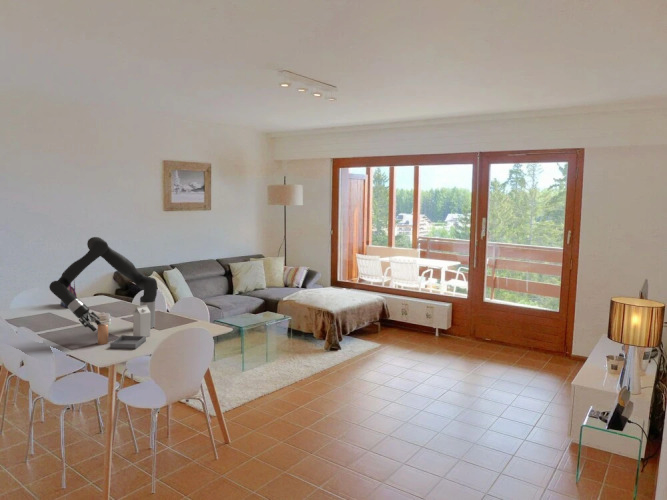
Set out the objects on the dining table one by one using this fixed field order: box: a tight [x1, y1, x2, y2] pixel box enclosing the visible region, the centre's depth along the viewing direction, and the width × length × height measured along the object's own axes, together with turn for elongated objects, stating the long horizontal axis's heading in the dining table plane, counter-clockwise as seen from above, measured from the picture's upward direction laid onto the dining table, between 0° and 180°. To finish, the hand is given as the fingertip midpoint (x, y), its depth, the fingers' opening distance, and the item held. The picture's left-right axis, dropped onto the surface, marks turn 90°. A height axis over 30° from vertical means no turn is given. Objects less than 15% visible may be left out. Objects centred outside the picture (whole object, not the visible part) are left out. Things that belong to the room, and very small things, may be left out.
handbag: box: [60, 281, 79, 309], centre depth 367 cm, size 21×10×25 cm, turn 49°
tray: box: [109, 334, 147, 350], centre depth 281 cm, size 16×14×3 cm
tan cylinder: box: [97, 322, 109, 346], centre depth 281 cm, size 6×6×11 cm
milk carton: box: [132, 305, 151, 338], centre depth 298 cm, size 7×7×19 cm
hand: (98, 328), depth 281 cm, fingers open, 8 cm apart
